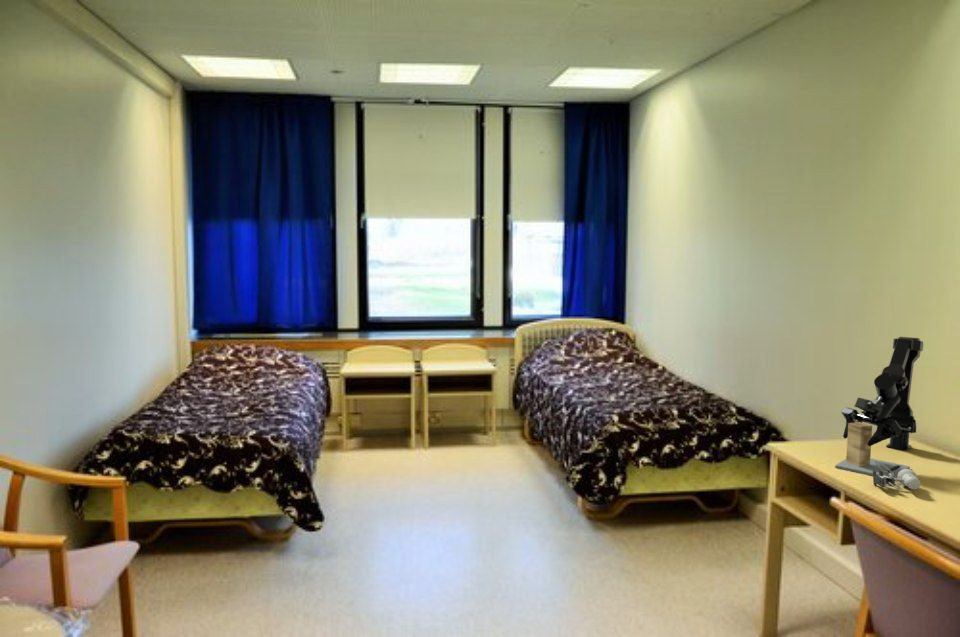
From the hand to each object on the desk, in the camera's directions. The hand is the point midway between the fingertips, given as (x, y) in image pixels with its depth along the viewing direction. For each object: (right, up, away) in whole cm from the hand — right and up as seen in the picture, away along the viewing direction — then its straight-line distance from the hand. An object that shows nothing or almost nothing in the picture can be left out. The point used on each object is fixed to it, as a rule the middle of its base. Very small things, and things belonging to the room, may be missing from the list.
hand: (856, 441), depth 224 cm
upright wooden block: (+1, -7, +1) cm, 8 cm away
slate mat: (+5, -8, -1) cm, 10 cm away
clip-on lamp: (+3, -10, -16) cm, 19 cm away
